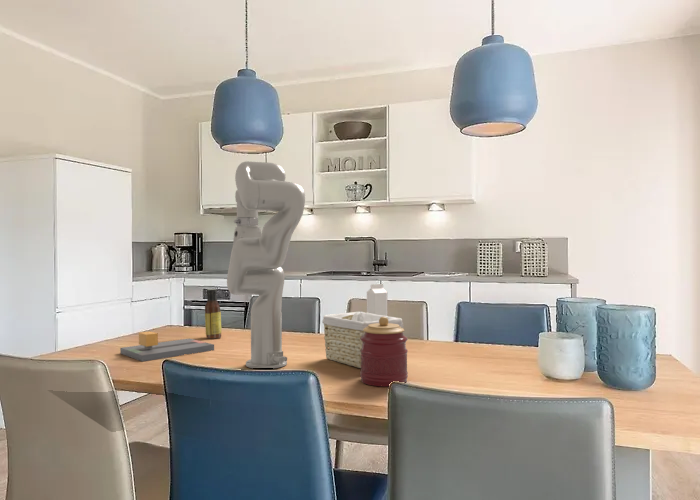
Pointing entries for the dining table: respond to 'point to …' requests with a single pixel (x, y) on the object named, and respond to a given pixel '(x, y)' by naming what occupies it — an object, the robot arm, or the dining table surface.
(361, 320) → the storage basket
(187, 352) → the switch board
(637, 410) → the dining table surface
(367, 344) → the canister
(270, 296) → the robot arm
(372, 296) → the milk
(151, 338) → the switch knob
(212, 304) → the sauce bottle
